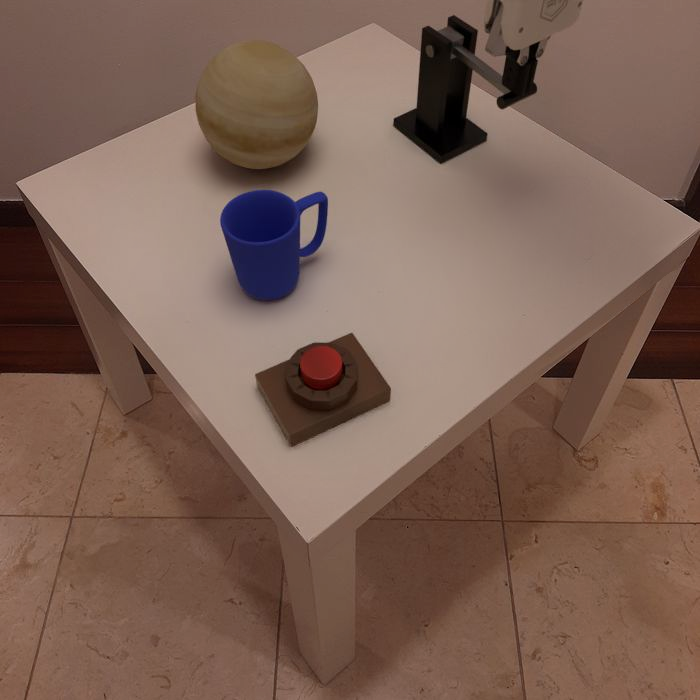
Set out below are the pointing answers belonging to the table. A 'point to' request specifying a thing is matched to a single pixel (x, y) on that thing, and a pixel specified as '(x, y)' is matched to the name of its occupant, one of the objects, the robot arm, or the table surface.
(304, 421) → the button block
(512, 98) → the switch lever
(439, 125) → the switch bracket
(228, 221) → the mug
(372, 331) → the table surface
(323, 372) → the power button
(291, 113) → the decorative ball
